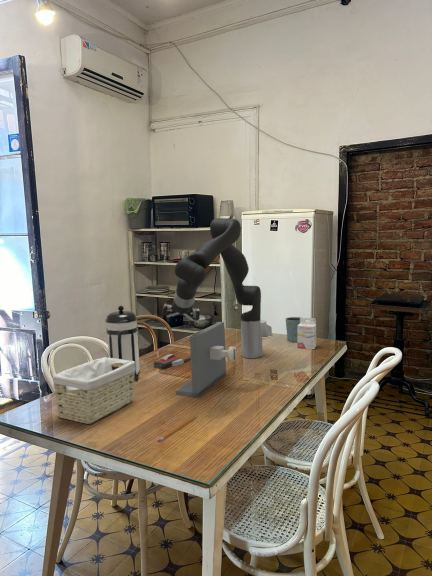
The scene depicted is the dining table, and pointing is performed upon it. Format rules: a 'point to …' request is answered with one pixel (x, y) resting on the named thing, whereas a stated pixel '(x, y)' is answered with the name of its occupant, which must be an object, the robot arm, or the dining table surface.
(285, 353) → the dining table surface
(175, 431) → the pencil
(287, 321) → the grey-green cup
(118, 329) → the coffee press
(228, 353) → the knob
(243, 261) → the robot arm
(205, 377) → the knob panel
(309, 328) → the ink cartridge box
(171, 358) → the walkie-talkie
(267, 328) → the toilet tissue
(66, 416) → the storage basket
